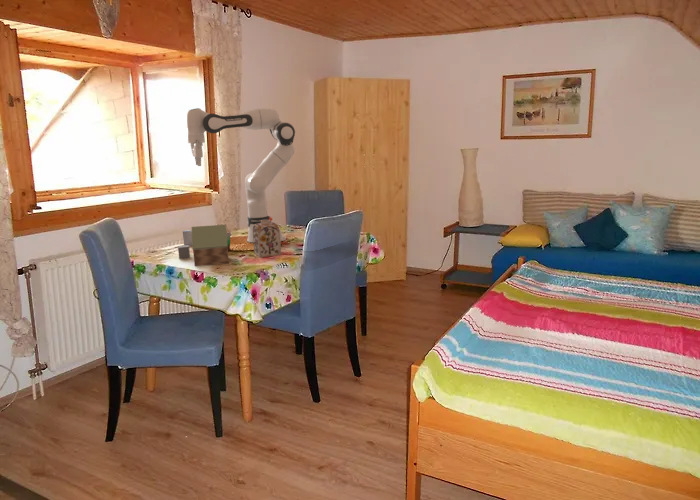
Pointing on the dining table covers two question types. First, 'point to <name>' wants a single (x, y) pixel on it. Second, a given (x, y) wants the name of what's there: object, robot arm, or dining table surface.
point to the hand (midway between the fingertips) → (198, 165)
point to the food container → (228, 240)
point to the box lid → (209, 237)
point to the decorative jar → (266, 239)
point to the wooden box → (210, 256)
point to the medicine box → (187, 237)
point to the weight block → (184, 252)
